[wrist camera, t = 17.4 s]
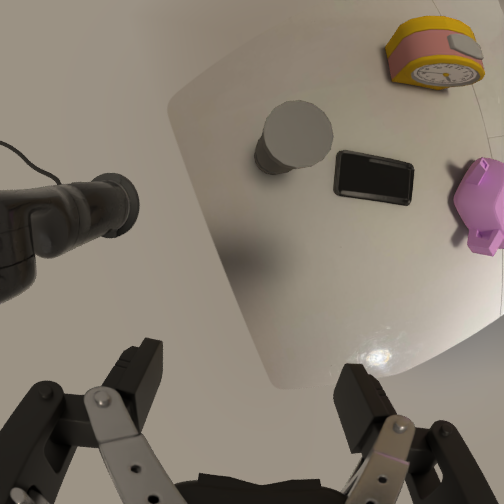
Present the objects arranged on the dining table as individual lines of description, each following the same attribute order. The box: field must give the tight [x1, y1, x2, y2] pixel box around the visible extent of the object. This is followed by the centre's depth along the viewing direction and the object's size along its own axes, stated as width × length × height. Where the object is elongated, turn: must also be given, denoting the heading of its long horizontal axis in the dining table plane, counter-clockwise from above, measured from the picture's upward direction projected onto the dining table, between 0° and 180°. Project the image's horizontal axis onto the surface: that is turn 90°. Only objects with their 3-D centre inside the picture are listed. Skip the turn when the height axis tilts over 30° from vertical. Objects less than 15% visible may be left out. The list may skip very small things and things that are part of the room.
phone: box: [334, 150, 414, 206], centre depth 46 cm, size 8×1×15 cm
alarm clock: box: [385, 16, 485, 90], centre depth 32 cm, size 15×8×18 cm, turn 94°
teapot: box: [454, 157, 504, 256], centre depth 40 cm, size 19×18×15 cm
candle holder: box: [254, 100, 334, 175], centre depth 34 cm, size 6×6×25 cm
